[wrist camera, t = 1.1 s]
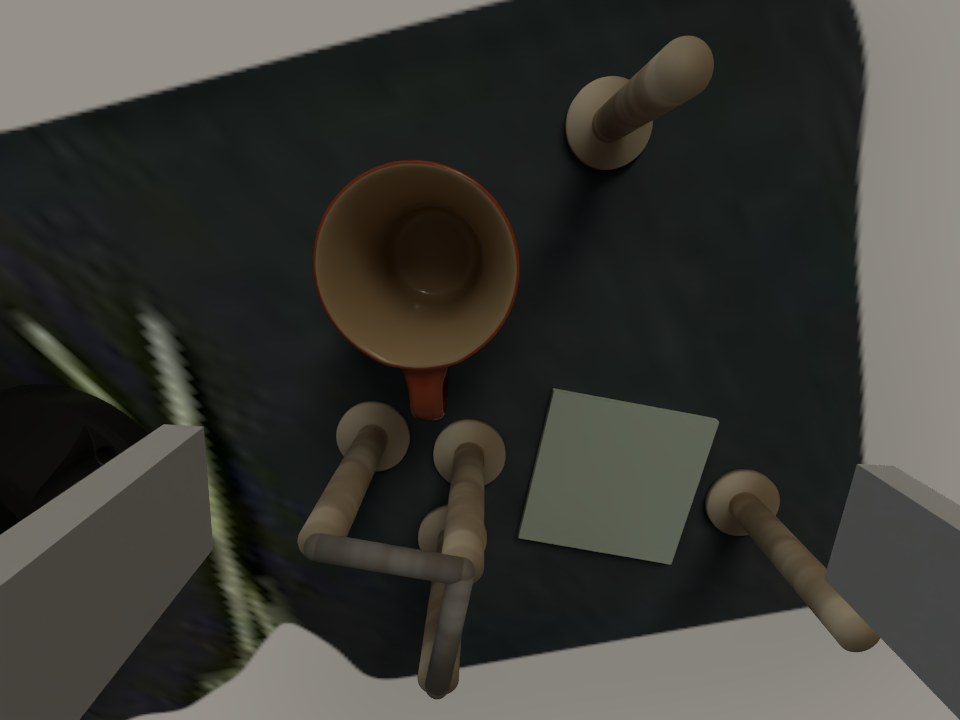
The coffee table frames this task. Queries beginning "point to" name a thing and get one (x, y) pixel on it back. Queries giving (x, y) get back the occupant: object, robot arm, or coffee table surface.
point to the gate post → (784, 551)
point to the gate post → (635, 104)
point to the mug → (416, 271)
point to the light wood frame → (443, 532)
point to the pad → (615, 476)
